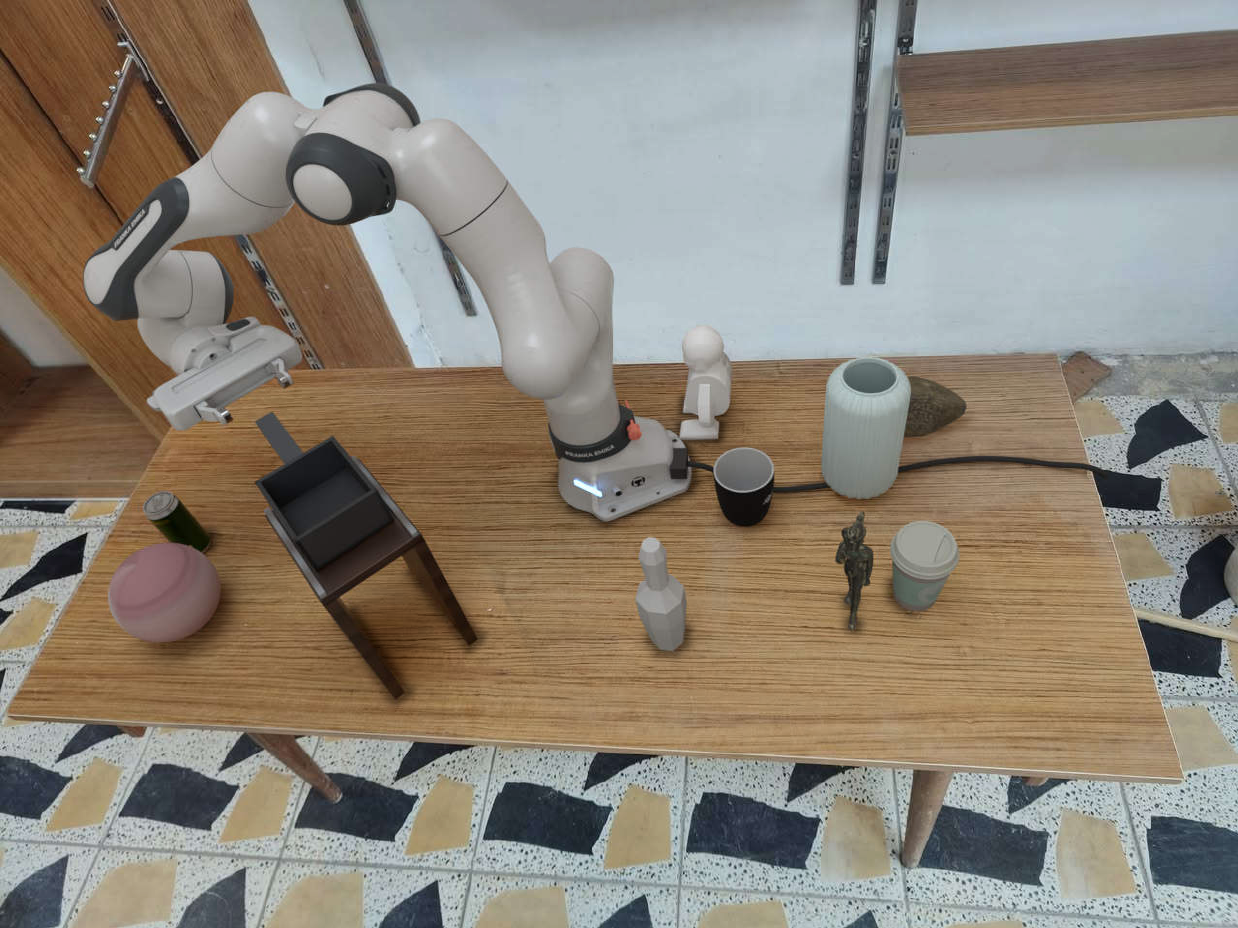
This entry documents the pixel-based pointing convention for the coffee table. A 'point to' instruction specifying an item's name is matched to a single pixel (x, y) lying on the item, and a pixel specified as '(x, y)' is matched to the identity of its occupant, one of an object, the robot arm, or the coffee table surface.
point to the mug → (744, 485)
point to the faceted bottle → (660, 598)
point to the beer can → (176, 521)
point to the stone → (931, 407)
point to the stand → (367, 562)
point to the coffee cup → (922, 563)
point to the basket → (320, 496)
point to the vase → (864, 426)
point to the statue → (855, 564)
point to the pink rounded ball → (164, 592)
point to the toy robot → (705, 382)
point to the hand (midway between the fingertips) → (258, 400)
